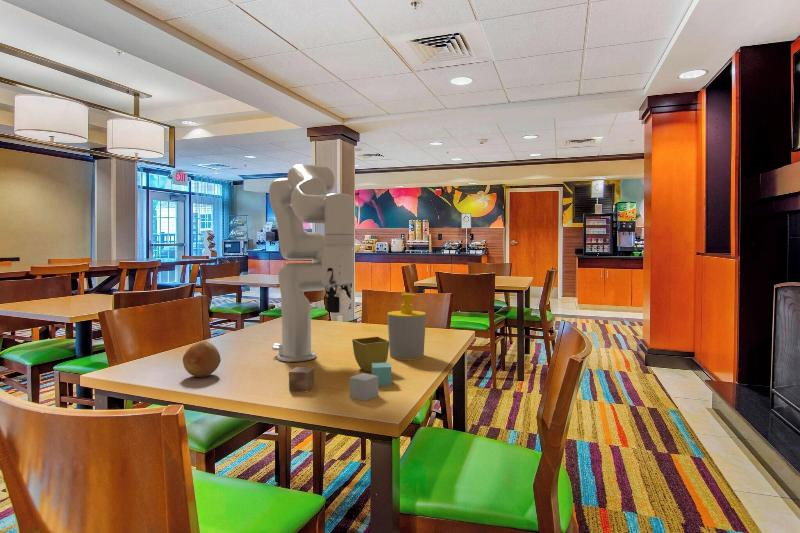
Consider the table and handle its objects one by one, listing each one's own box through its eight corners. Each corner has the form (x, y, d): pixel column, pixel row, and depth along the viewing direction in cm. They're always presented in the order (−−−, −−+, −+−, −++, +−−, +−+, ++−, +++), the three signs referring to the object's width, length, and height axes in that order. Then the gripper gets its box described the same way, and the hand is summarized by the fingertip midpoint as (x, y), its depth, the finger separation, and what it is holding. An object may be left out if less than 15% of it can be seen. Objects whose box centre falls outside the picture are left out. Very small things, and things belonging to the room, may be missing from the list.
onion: (183, 373, 135) (182, 339, 134) (220, 370, 139) (219, 337, 138) (182, 382, 126) (181, 346, 125) (221, 378, 130) (220, 343, 129)
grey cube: (349, 397, 114) (349, 377, 113) (362, 392, 118) (362, 372, 118) (365, 401, 111) (365, 380, 111) (378, 395, 115) (378, 376, 115)
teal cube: (372, 386, 123) (372, 367, 123) (371, 381, 128) (371, 363, 128) (391, 385, 123) (391, 367, 123) (389, 380, 128) (389, 362, 128)
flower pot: (362, 374, 134) (362, 344, 133) (351, 368, 141) (351, 338, 141) (390, 371, 138) (390, 341, 137) (377, 364, 145) (377, 336, 145)
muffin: (356, 314, 122) (356, 287, 122) (341, 317, 117) (341, 289, 117) (337, 312, 125) (337, 286, 125) (322, 315, 120) (322, 288, 120)
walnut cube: (289, 391, 119) (288, 371, 119) (296, 385, 124) (296, 366, 124) (307, 392, 118) (307, 372, 118) (314, 386, 123) (314, 367, 123)
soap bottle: (426, 360, 150) (426, 295, 149) (386, 360, 150) (386, 295, 150) (425, 351, 163) (425, 292, 162) (388, 351, 164) (388, 291, 163)
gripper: (340, 242, 130) (340, 306, 131) (309, 241, 113) (310, 314, 114) (365, 242, 127) (365, 307, 128) (337, 241, 111) (337, 316, 112)
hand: (339, 309), depth 121 cm, fingers closed on muffin, 6 cm apart
